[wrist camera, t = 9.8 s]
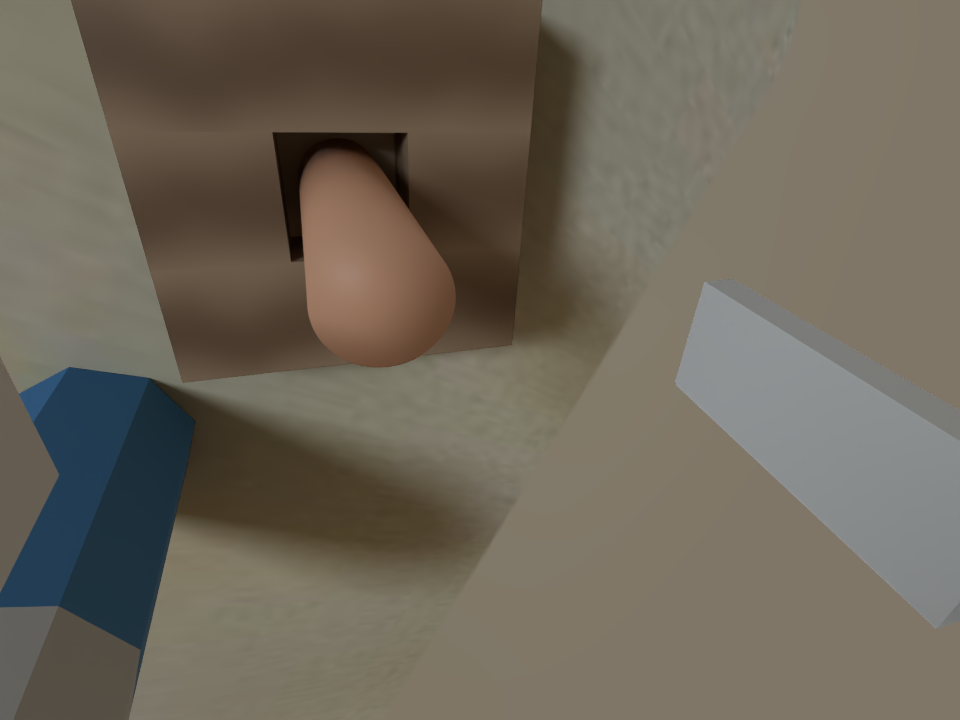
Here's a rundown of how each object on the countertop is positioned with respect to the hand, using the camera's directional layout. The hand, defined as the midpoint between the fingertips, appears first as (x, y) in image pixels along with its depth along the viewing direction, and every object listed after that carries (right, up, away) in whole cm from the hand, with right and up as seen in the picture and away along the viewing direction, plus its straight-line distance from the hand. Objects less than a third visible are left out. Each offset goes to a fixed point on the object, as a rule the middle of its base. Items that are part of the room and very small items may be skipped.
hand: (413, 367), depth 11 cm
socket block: (-6, +9, +16) cm, 19 cm away
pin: (-5, +9, +15) cm, 18 cm away
